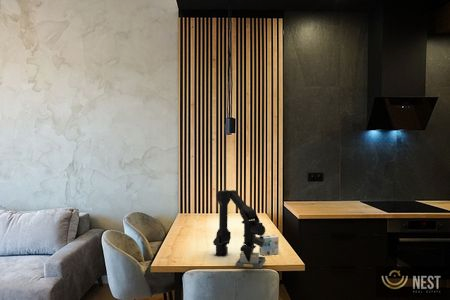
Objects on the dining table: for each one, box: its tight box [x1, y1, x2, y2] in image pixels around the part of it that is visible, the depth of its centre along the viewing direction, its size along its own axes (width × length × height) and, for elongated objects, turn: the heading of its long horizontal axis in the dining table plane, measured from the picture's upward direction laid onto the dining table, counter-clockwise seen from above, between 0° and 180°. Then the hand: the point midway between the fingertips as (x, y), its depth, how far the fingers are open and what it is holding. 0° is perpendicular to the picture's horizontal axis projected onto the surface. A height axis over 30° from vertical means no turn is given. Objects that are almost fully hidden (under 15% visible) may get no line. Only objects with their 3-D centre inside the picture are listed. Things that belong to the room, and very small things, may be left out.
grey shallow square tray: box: [235, 256, 266, 269], centre depth 206 cm, size 14×15×2 cm
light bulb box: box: [258, 234, 280, 256], centre depth 226 cm, size 11×7×11 cm, turn 103°
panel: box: [239, 251, 260, 264], centre depth 203 cm, size 10×4×6 cm, turn 75°
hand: (249, 260), depth 203 cm, fingers closed on panel, 4 cm apart
